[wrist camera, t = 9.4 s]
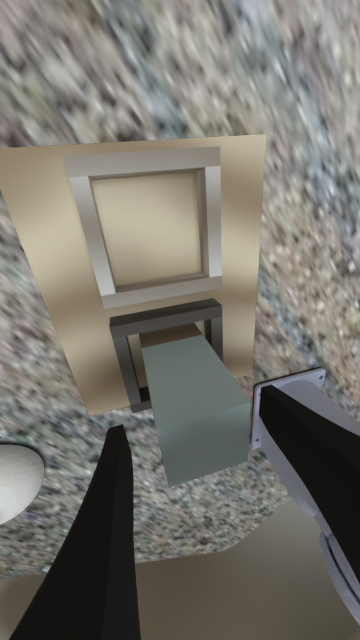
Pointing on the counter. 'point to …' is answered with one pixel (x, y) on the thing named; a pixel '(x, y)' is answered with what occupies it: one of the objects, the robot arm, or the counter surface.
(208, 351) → the banded peg
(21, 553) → the counter surface
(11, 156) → the board
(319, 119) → the counter surface
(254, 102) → the counter surface
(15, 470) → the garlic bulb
